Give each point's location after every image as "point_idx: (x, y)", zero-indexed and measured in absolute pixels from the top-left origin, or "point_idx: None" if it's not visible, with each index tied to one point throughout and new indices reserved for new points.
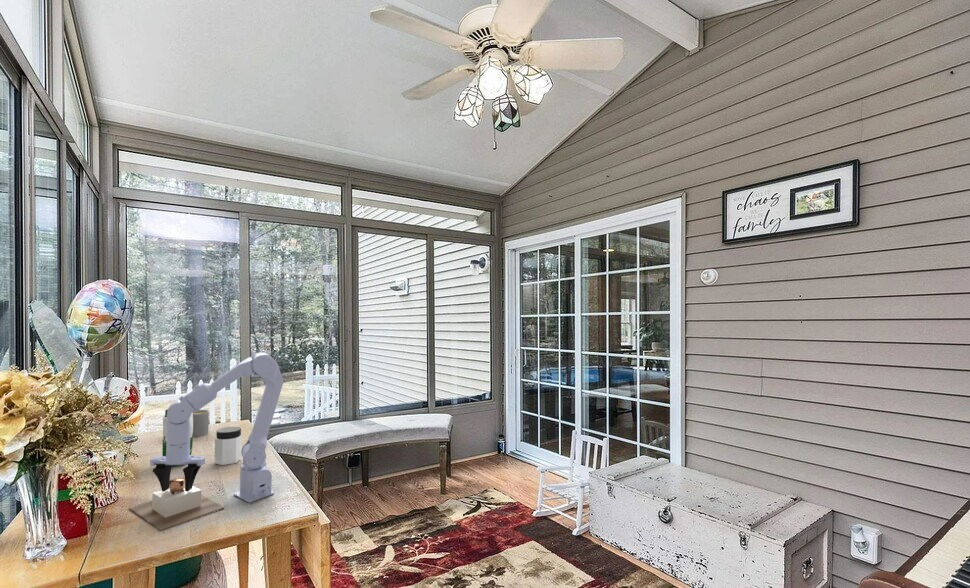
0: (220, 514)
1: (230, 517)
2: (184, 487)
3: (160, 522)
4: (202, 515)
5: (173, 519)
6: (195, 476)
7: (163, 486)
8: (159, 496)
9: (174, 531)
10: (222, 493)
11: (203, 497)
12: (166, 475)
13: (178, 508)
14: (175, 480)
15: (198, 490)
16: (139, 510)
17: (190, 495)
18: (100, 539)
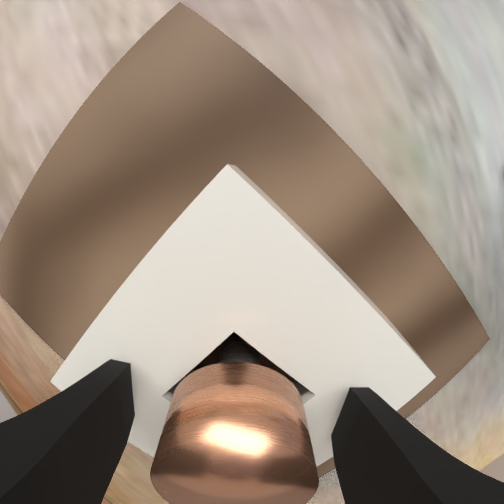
0: (472, 385)
1: (496, 401)
2: (303, 405)
3: None
4: (413, 409)
5: None
6: (444, 456)
7: (120, 456)
8: (153, 455)
9: (333, 490)
10: (442, 108)
11: (362, 177)
12: (74, 502)
13: None
14: (220, 498)
15: (418, 385)
16: (51, 330)
17: None
18: (110, 491)
